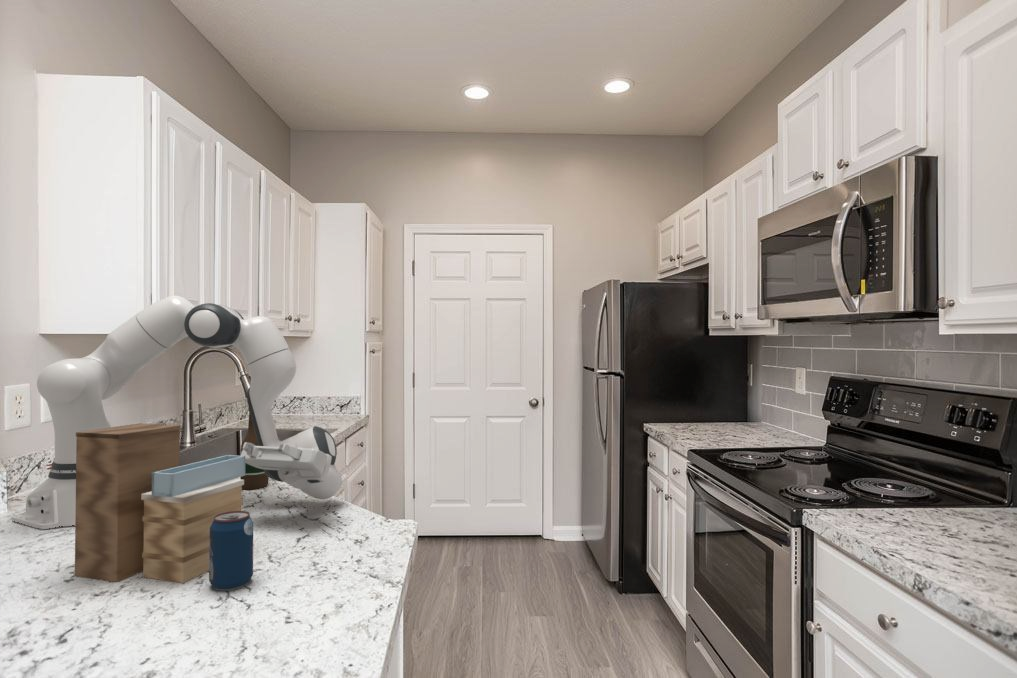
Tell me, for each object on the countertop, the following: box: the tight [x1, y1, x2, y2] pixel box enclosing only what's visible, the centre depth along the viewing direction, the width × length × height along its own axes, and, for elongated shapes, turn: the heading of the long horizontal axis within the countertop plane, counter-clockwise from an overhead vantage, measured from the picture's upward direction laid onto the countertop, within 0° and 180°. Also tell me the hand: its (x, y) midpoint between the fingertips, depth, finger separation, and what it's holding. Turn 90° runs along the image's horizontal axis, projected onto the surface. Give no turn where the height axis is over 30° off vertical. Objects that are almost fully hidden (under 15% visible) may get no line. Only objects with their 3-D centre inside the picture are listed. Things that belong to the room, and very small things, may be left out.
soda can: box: [208, 510, 254, 592], centre depth 100 cm, size 7×7×12 cm
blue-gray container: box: [152, 454, 245, 497], centre depth 110 cm, size 4×18×4 cm, turn 164°
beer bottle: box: [239, 408, 270, 491], centre depth 171 cm, size 8×8×24 cm
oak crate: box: [141, 478, 244, 584], centre depth 109 cm, size 10×15×15 cm, turn 164°
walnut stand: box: [74, 422, 182, 583], centre depth 109 cm, size 10×13×26 cm
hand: (263, 446), depth 127 cm, fingers open, 8 cm apart
